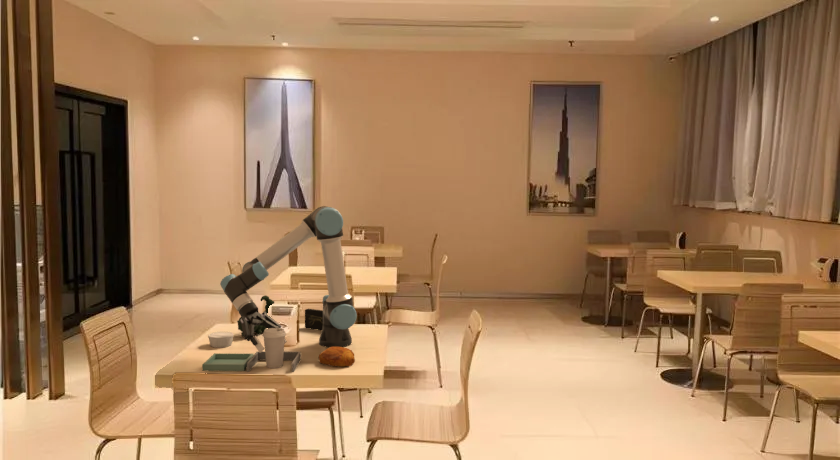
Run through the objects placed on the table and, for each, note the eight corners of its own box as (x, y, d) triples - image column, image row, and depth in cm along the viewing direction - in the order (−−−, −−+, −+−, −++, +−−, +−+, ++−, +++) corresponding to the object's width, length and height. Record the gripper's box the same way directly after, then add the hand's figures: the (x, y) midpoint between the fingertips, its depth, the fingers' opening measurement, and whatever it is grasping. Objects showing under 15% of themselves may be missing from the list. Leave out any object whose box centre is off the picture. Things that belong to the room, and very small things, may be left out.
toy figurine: (262, 331, 346) (228, 338, 323) (264, 293, 345) (230, 297, 322) (278, 334, 341) (244, 340, 318) (279, 295, 341) (246, 299, 318)
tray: (253, 359, 289) (253, 353, 288) (244, 370, 272) (244, 364, 272) (214, 359, 288) (214, 353, 288) (202, 370, 272) (202, 364, 271)
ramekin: (209, 349, 304) (209, 338, 304) (206, 343, 315) (206, 332, 314) (235, 347, 309) (235, 335, 308) (231, 341, 319) (231, 330, 319)
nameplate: (304, 328, 347) (304, 309, 347) (307, 327, 349) (307, 308, 348) (338, 333, 337) (338, 313, 336) (340, 332, 339) (340, 312, 338)
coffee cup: (280, 369, 274) (280, 333, 273) (258, 368, 276) (258, 332, 274) (290, 363, 283) (289, 328, 282) (268, 362, 285) (268, 326, 284)
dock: (300, 359, 289) (300, 351, 289) (293, 372, 271) (293, 363, 271) (256, 359, 289) (256, 351, 288) (246, 371, 271) (246, 363, 270)
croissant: (342, 375, 275) (344, 356, 274) (312, 364, 283) (314, 346, 281) (362, 365, 288) (364, 347, 286) (333, 355, 295) (335, 337, 294)
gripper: (261, 307, 297) (288, 345, 291) (219, 317, 275) (247, 359, 269) (271, 296, 294) (298, 335, 288) (228, 306, 272) (257, 348, 266)
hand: (273, 347), depth 278 cm, fingers open, 13 cm apart
